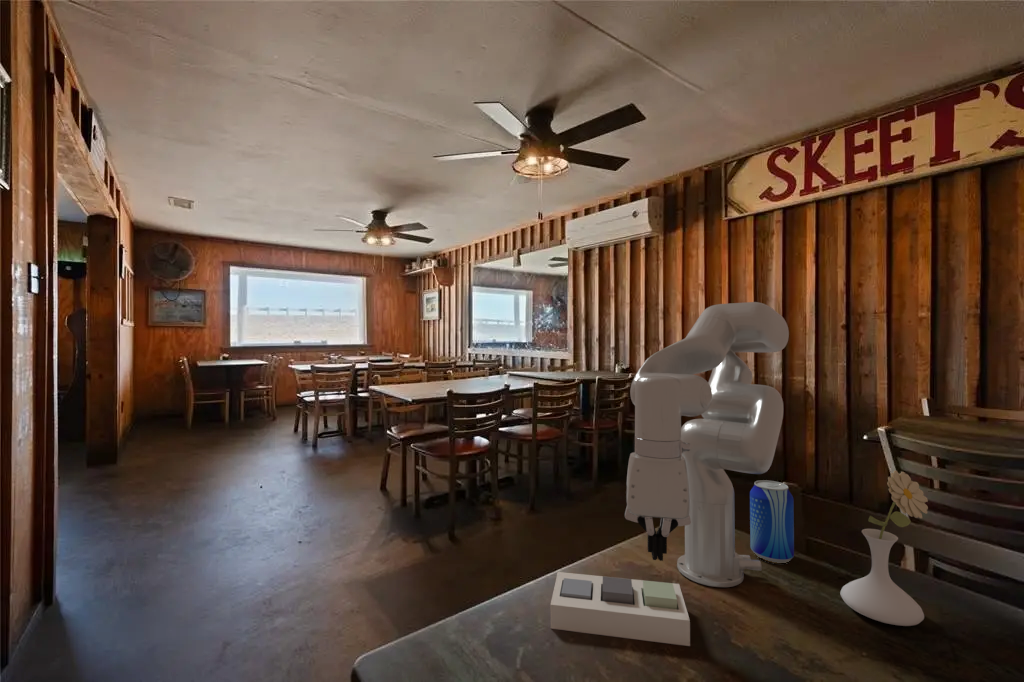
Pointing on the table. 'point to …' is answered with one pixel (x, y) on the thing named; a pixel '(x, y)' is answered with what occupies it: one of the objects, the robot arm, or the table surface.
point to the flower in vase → (877, 589)
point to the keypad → (619, 614)
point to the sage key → (659, 595)
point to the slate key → (577, 589)
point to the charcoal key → (617, 590)
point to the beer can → (772, 521)
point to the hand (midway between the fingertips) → (657, 556)
